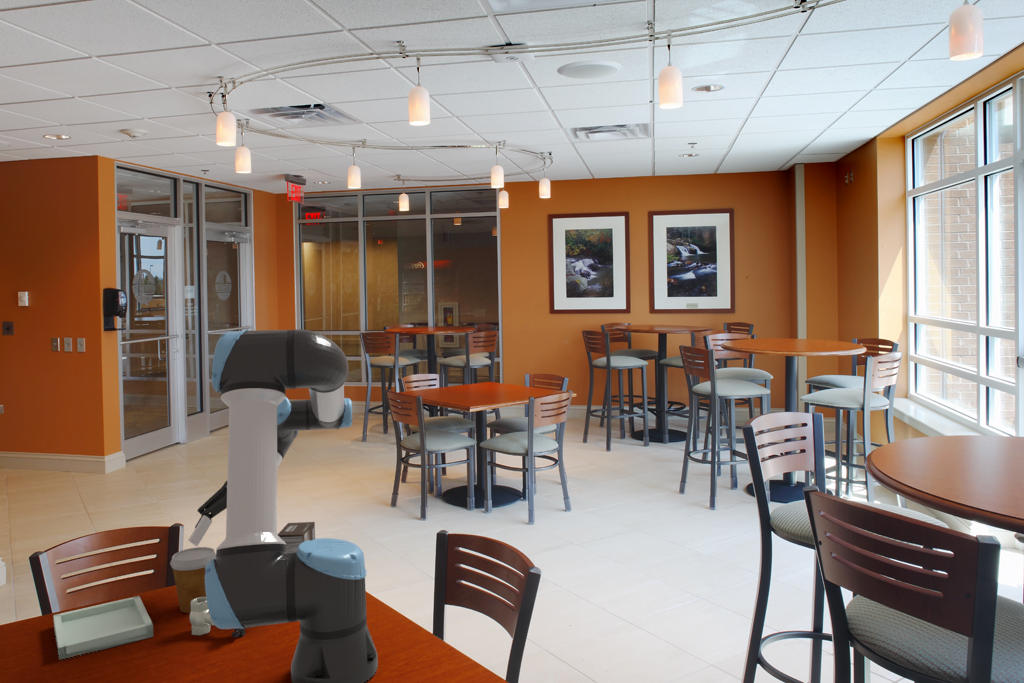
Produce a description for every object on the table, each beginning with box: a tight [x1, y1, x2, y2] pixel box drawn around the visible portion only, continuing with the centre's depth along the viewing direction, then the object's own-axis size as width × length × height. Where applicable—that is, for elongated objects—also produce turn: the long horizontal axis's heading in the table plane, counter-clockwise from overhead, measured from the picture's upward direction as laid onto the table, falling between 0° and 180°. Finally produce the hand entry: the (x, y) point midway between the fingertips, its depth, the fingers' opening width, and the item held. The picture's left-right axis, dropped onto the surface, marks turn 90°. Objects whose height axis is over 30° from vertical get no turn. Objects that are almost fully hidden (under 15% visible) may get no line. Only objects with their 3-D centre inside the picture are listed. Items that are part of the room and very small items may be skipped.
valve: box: [188, 597, 251, 638], centre depth 142 cm, size 7×7×12 cm
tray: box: [52, 595, 154, 661], centre depth 144 cm, size 18×16×2 cm
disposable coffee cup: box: [169, 546, 216, 614], centre depth 155 cm, size 10×10×12 cm
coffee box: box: [277, 521, 316, 553], centre depth 159 cm, size 9×6×16 cm
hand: (214, 547), depth 161 cm, fingers open, 13 cm apart
